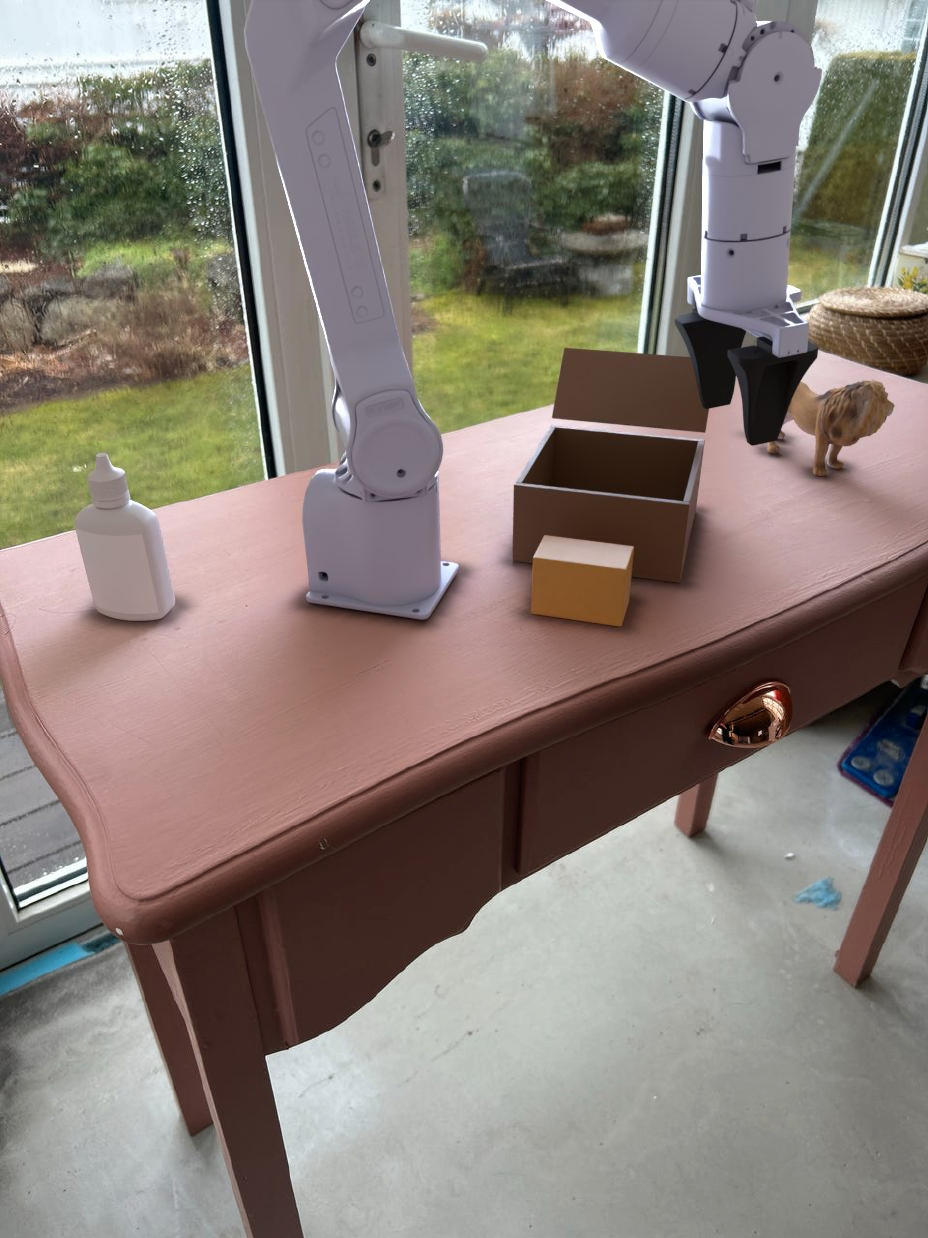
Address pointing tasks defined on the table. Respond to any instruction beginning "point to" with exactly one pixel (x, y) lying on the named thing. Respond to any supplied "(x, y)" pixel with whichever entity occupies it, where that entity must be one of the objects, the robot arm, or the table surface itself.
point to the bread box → (611, 495)
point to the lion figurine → (837, 418)
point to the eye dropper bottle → (122, 550)
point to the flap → (629, 390)
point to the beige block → (582, 580)
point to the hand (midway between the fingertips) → (738, 422)
